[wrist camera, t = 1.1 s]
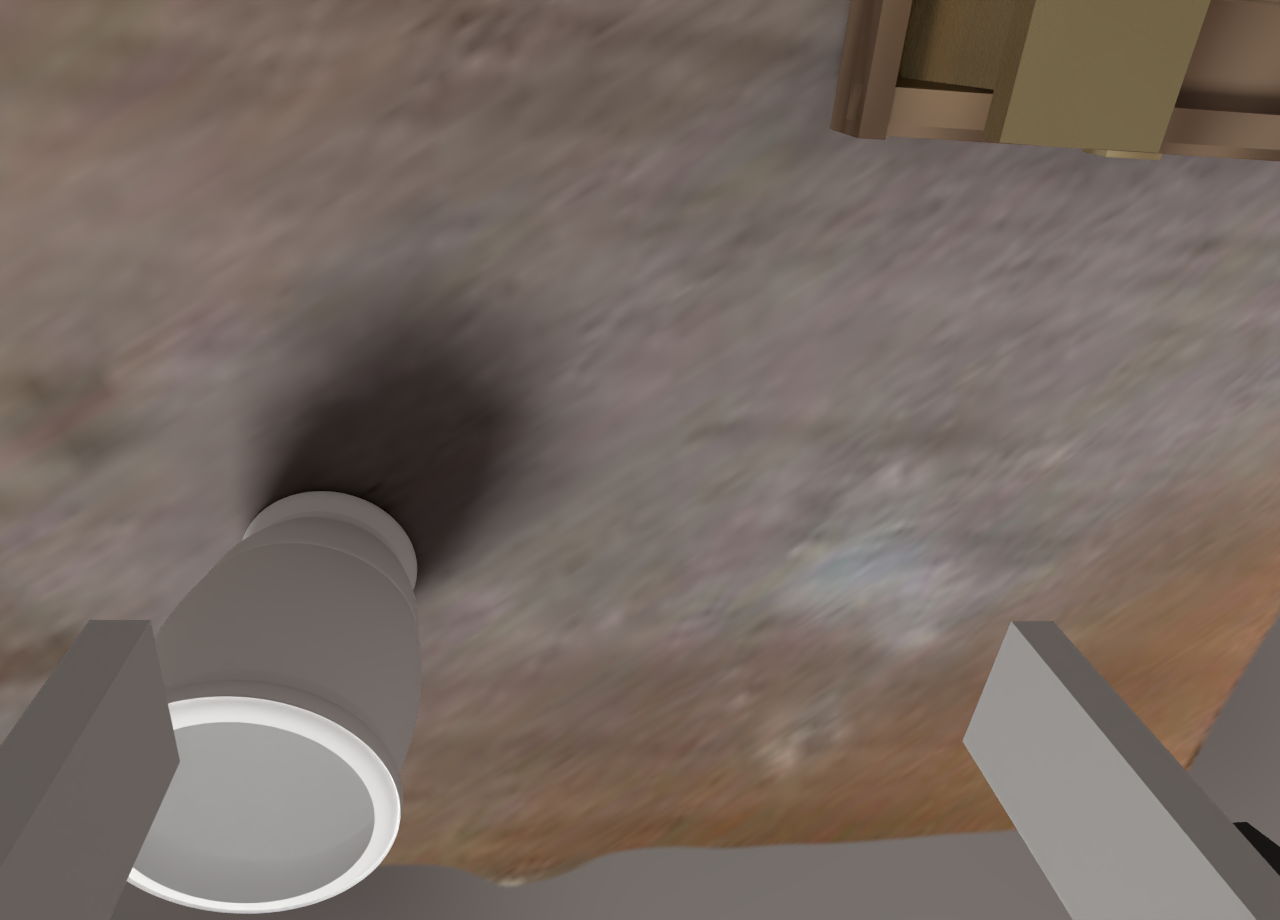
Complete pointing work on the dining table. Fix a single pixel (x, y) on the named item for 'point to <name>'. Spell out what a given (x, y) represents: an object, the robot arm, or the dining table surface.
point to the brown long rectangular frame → (1199, 126)
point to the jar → (288, 711)
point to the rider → (1061, 65)
